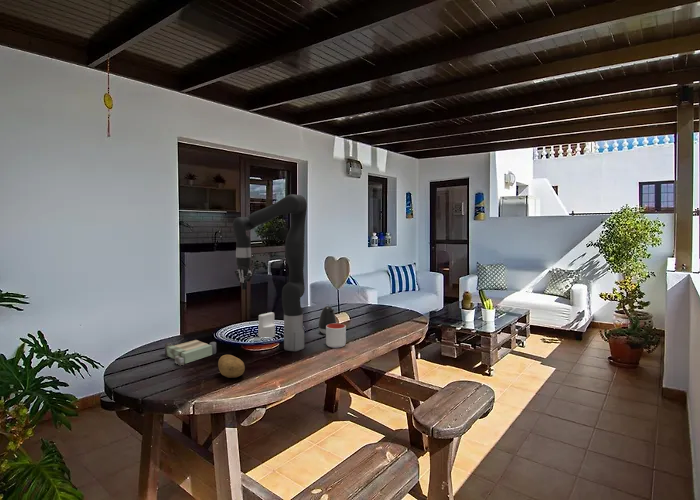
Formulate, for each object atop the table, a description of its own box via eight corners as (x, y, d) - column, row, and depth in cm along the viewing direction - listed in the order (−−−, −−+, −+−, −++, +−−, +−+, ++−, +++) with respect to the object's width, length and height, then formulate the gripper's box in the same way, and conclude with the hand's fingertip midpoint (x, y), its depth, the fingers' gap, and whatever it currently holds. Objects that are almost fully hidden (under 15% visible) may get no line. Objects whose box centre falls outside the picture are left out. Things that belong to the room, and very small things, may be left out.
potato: (228, 385, 155) (228, 365, 154) (212, 374, 165) (212, 355, 164) (251, 378, 161) (251, 359, 161) (234, 368, 172) (234, 350, 171)
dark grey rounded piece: (326, 337, 217) (326, 309, 216) (314, 332, 225) (314, 305, 223) (340, 333, 224) (340, 306, 222) (329, 329, 231) (329, 303, 230)
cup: (348, 343, 206) (349, 324, 205) (340, 349, 197) (340, 329, 196) (331, 341, 210) (331, 322, 209) (322, 346, 201) (322, 327, 200)
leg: (213, 351, 192) (213, 341, 191) (217, 352, 190) (217, 342, 190) (181, 362, 178) (181, 351, 177) (185, 363, 176) (185, 352, 176)
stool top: (215, 355, 187) (215, 344, 187) (180, 366, 174) (180, 354, 173) (193, 346, 199) (192, 336, 199) (158, 355, 186) (158, 344, 185)
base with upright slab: (265, 339, 212) (265, 317, 211) (254, 336, 217) (254, 314, 216) (278, 335, 219) (278, 313, 218) (267, 332, 224) (267, 311, 223)
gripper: (257, 256, 204) (258, 290, 206) (241, 254, 212) (242, 287, 214) (245, 257, 198) (246, 292, 200) (229, 255, 206) (230, 289, 208)
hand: (244, 289), depth 207 cm, fingers closed
